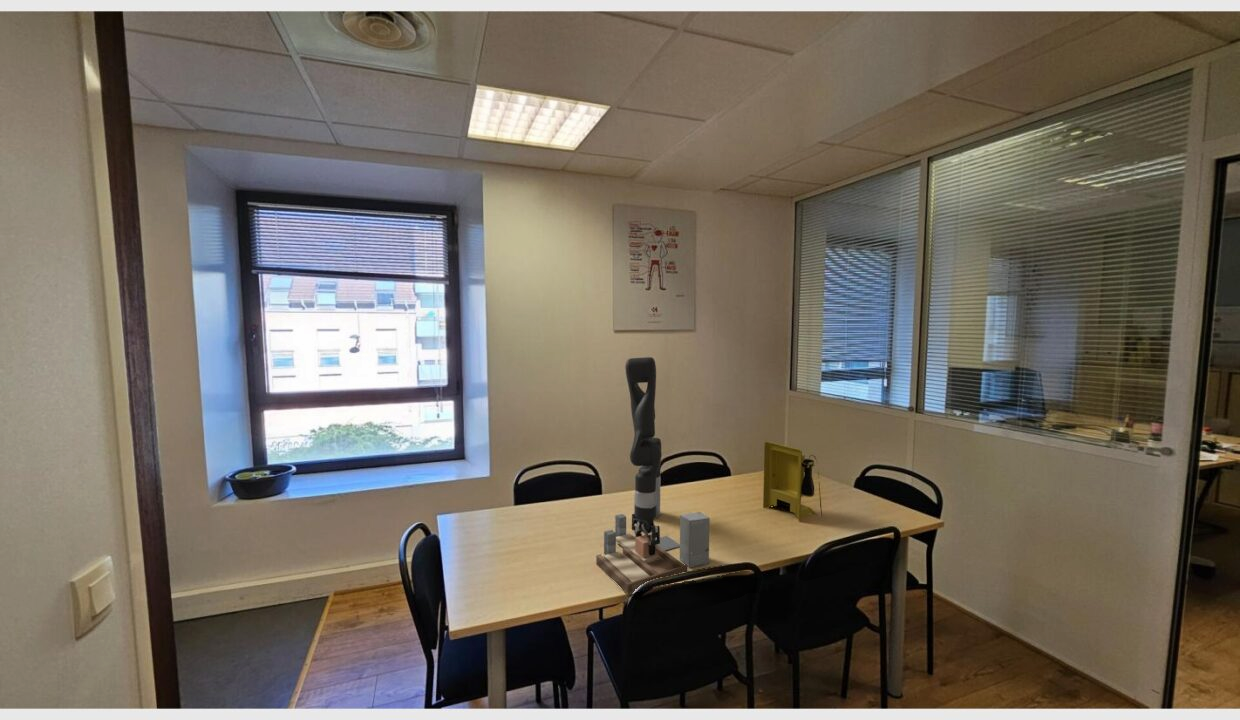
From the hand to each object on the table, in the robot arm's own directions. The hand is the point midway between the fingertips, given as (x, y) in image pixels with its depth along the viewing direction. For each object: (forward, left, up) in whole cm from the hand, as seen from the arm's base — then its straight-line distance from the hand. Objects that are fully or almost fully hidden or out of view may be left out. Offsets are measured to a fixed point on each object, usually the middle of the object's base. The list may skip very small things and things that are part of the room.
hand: (645, 549), depth 156 cm
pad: (-6, +12, -4) cm, 14 cm away
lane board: (+5, -5, -4) cm, 8 cm away
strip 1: (-7, 0, -3) cm, 8 cm away
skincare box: (+9, +14, -4) cm, 17 cm away
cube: (0, 0, -1) cm, 1 cm away
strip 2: (+3, -10, -2) cm, 11 cm away
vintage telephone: (-3, +78, -4) cm, 78 cm away
